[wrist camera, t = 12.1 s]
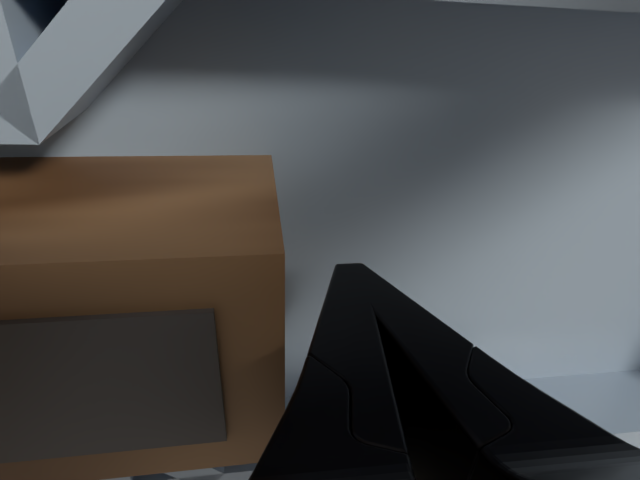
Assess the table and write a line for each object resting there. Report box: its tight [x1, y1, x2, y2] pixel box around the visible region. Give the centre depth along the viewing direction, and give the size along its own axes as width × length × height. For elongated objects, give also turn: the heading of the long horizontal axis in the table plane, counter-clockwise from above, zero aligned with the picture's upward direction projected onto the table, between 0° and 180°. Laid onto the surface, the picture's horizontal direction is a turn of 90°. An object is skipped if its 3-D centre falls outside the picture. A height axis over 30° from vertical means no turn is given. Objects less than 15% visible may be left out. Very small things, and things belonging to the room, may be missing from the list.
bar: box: [0, 155, 285, 480], centre depth 8 cm, size 10×4×4 cm, turn 88°
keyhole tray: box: [0, 0, 640, 480], centre depth 10 cm, size 26×13×3 cm, turn 87°
